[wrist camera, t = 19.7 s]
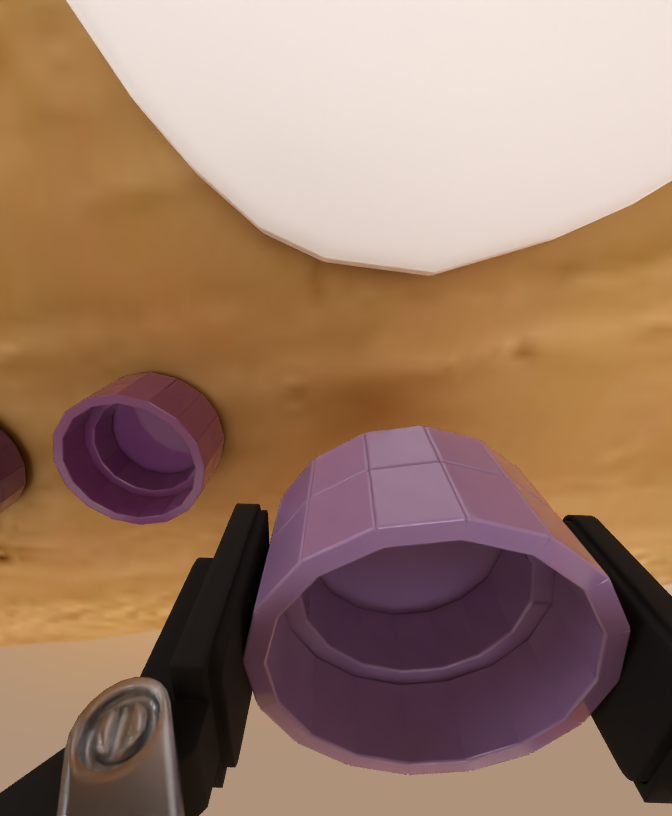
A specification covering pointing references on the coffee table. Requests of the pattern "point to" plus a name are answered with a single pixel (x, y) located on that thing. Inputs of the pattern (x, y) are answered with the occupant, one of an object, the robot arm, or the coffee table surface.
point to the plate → (405, 115)
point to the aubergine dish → (10, 472)
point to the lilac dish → (428, 609)
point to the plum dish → (139, 448)
